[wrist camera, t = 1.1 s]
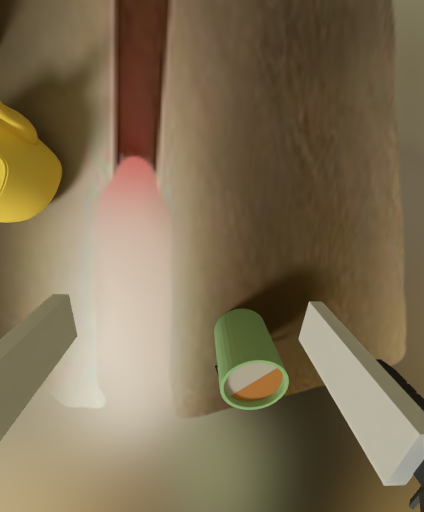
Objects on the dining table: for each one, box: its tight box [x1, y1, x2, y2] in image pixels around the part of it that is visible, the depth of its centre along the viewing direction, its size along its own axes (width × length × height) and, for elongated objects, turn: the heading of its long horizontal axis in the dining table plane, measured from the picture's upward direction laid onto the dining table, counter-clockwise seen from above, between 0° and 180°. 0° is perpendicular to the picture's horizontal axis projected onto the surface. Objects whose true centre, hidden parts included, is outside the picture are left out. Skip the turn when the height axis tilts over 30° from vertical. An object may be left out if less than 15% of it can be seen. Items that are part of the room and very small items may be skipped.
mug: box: [214, 309, 289, 410], centre depth 37 cm, size 13×10×12 cm
